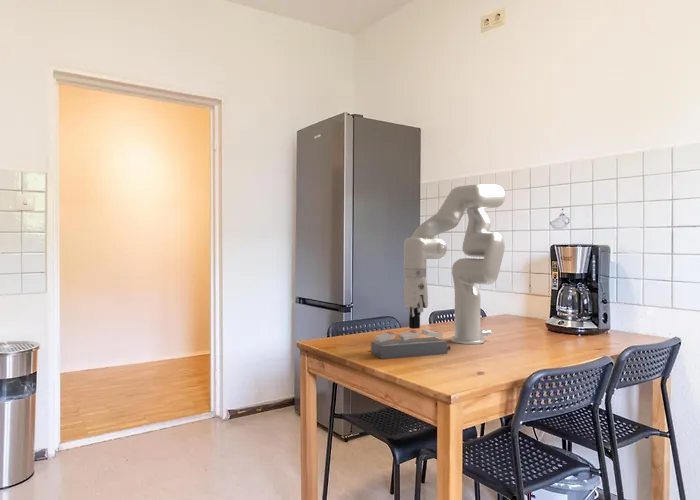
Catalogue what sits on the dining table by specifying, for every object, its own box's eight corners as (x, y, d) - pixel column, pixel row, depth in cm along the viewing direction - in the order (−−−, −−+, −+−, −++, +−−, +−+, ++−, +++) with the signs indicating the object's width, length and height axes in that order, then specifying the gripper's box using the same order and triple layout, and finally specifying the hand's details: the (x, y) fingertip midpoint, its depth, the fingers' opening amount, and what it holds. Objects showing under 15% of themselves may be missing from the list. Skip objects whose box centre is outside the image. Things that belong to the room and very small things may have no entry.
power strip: (443, 347, 173) (443, 335, 173) (456, 352, 165) (456, 340, 165) (371, 353, 165) (371, 340, 165) (381, 359, 156) (380, 345, 156)
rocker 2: (413, 333, 167) (412, 329, 167) (419, 336, 163) (418, 331, 163) (398, 338, 165) (398, 333, 165) (404, 340, 161) (403, 336, 161)
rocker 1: (390, 335, 164) (389, 330, 164) (395, 337, 160) (394, 333, 160) (375, 339, 163) (374, 335, 163) (380, 342, 159) (379, 337, 158)
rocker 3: (435, 335, 170) (436, 331, 170) (441, 337, 166) (442, 333, 166) (421, 333, 168) (422, 328, 168) (427, 335, 164) (428, 331, 164)
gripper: (435, 275, 159) (434, 331, 159) (415, 272, 173) (414, 324, 173) (414, 275, 156) (414, 332, 156) (395, 273, 171) (395, 325, 171)
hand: (414, 328), depth 165 cm, fingers closed
